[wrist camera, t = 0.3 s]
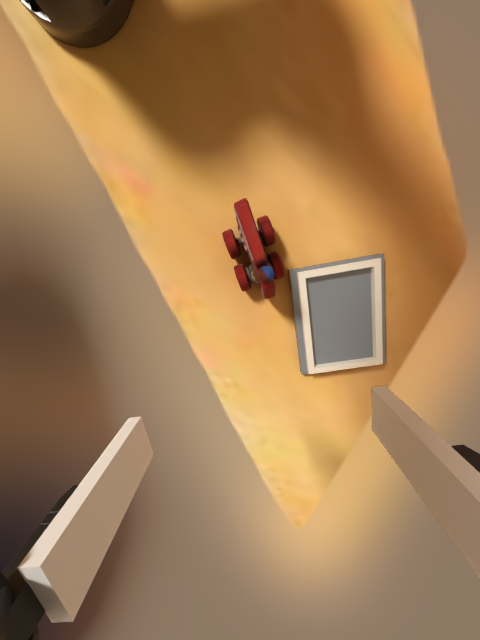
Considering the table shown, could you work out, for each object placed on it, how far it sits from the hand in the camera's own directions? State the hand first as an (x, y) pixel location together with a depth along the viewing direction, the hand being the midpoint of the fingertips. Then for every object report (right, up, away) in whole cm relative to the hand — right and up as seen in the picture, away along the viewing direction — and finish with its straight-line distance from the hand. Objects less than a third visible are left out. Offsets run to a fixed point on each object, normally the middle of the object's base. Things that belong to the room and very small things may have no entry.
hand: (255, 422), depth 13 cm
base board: (+15, +6, +24) cm, 29 cm away
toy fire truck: (+1, +16, +23) cm, 28 cm away
